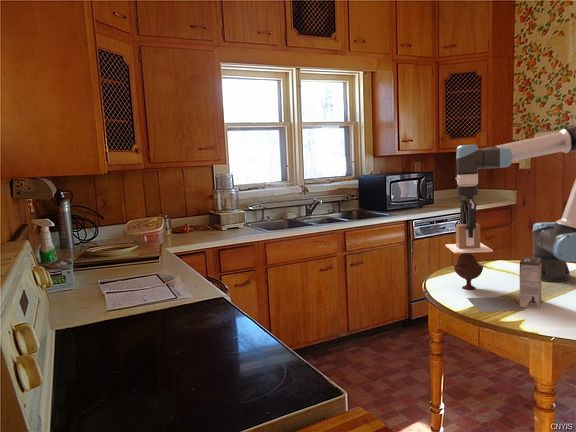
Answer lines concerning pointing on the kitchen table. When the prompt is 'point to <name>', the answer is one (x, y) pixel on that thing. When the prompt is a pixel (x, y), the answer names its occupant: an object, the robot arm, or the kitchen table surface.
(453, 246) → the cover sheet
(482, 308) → the mat
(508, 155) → the robot arm
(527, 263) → the coffee box
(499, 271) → the kitchen table surface
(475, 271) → the ice cream bowl
